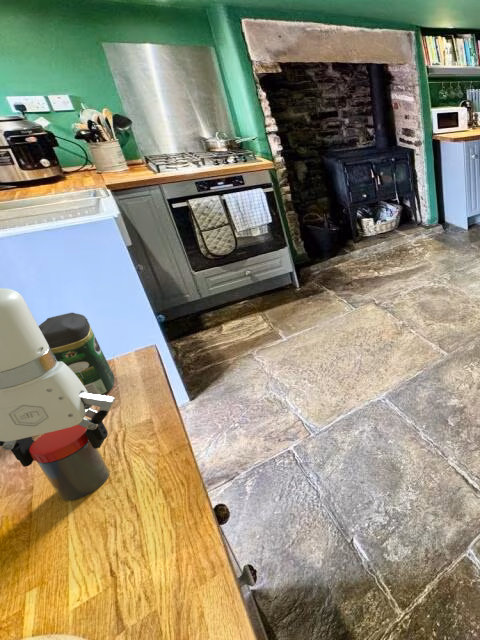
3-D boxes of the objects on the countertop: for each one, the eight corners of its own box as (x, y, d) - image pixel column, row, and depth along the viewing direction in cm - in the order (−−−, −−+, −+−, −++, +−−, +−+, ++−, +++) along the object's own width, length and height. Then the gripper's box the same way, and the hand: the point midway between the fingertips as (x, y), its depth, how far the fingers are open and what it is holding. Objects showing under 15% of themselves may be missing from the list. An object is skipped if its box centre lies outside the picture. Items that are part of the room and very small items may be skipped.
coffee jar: (69, 386, 92) (33, 317, 85) (115, 371, 97) (85, 305, 90) (65, 410, 86) (25, 338, 78) (115, 393, 91) (82, 324, 83)
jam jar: (50, 506, 67) (21, 461, 63) (69, 474, 72) (44, 431, 68) (100, 492, 70) (76, 448, 65) (115, 462, 75) (93, 420, 71)
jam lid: (24, 469, 63) (18, 460, 62) (47, 437, 69) (42, 429, 68) (80, 454, 66) (75, 446, 65) (98, 425, 71) (94, 417, 71)
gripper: (-88, 401, 54) (-21, 488, 61) (82, 368, 61) (125, 450, 68) (-47, 367, 60) (9, 450, 68) (104, 340, 67) (140, 419, 74)
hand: (67, 450), depth 68 cm, fingers open, 8 cm apart
